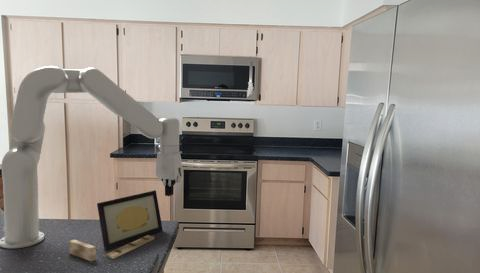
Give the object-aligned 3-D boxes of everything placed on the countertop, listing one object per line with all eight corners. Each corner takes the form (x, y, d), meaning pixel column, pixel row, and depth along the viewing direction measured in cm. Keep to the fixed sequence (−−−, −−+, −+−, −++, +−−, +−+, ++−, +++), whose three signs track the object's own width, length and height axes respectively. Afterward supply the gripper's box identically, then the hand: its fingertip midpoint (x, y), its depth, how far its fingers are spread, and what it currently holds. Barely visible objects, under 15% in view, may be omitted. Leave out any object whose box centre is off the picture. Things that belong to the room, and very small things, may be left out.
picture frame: (106, 250, 108) (103, 203, 107) (91, 245, 113) (88, 201, 113) (163, 230, 126) (160, 190, 126) (147, 227, 132) (145, 189, 131)
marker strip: (106, 256, 104) (106, 253, 104) (147, 237, 120) (147, 234, 120) (113, 258, 102) (113, 255, 102) (154, 239, 118) (154, 236, 118)
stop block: (69, 253, 105) (69, 241, 104) (74, 251, 106) (74, 239, 106) (91, 261, 100) (91, 248, 100) (95, 259, 102) (95, 246, 101)
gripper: (148, 148, 132) (148, 194, 134) (178, 152, 125) (178, 200, 127) (161, 146, 138) (161, 190, 140) (190, 150, 132) (190, 196, 133)
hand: (169, 195), depth 134 cm, fingers closed
